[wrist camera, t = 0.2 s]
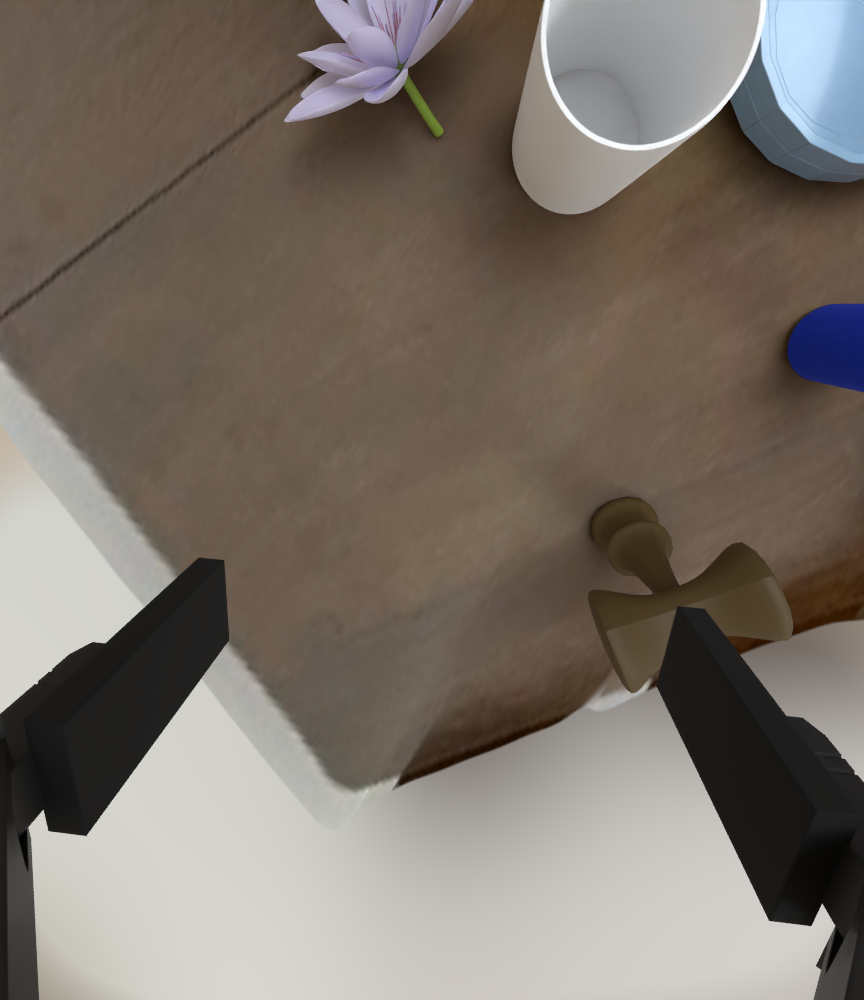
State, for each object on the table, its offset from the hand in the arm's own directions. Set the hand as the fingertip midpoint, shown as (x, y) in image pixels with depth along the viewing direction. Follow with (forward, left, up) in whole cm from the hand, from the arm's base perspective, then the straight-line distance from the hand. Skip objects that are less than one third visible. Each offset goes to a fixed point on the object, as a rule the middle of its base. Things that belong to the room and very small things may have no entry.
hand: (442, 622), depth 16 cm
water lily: (-23, -6, -28) cm, 37 cm away
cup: (-19, +6, -28) cm, 34 cm away
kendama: (+7, +14, -28) cm, 32 cm away
